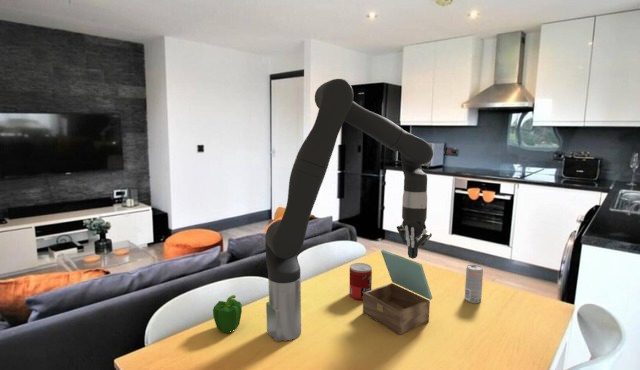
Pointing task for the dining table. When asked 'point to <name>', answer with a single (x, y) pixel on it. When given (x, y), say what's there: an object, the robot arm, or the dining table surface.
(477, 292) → the energy drink
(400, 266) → the lid
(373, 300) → the box
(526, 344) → the dining table surface
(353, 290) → the canned food
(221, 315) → the bell pepper
